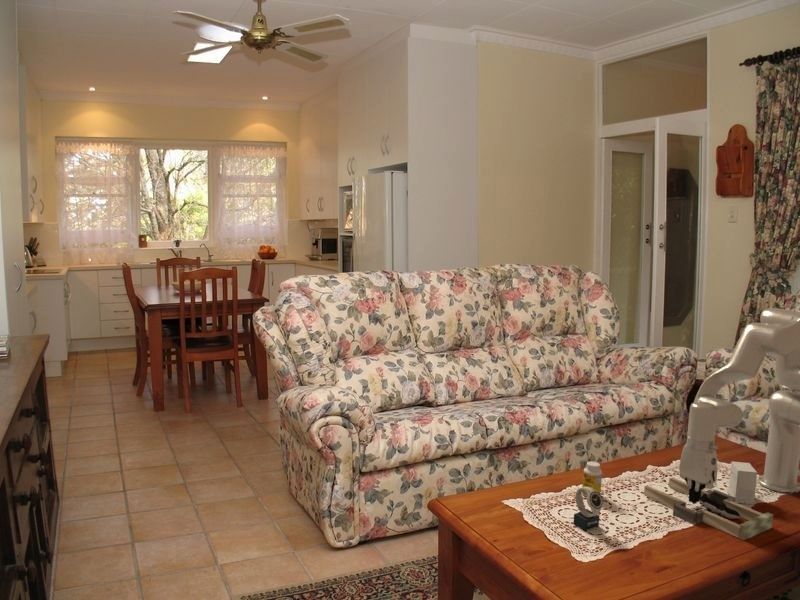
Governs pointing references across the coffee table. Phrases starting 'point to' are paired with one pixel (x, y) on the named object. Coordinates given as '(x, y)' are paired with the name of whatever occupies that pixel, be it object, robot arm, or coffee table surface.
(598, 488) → the supplement bottle
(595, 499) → the watch
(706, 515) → the channel
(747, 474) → the small box
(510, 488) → the coffee table surface
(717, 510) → the gaming controller
